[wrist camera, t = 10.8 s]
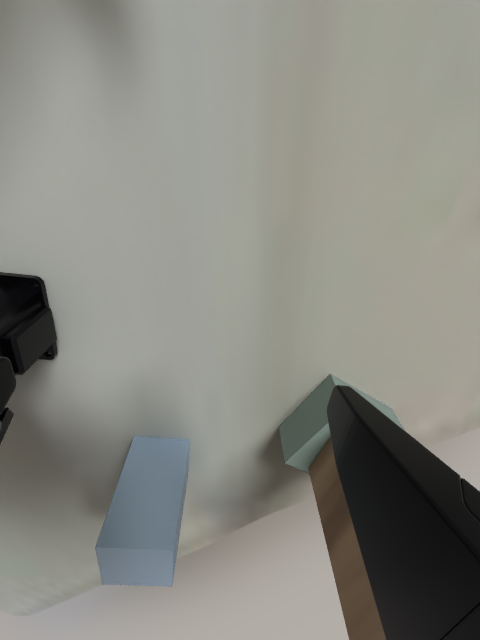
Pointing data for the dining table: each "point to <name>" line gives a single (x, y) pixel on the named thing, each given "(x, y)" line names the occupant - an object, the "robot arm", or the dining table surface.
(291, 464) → the base block
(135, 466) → the blue column
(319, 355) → the dining table surface
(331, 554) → the walnut column
